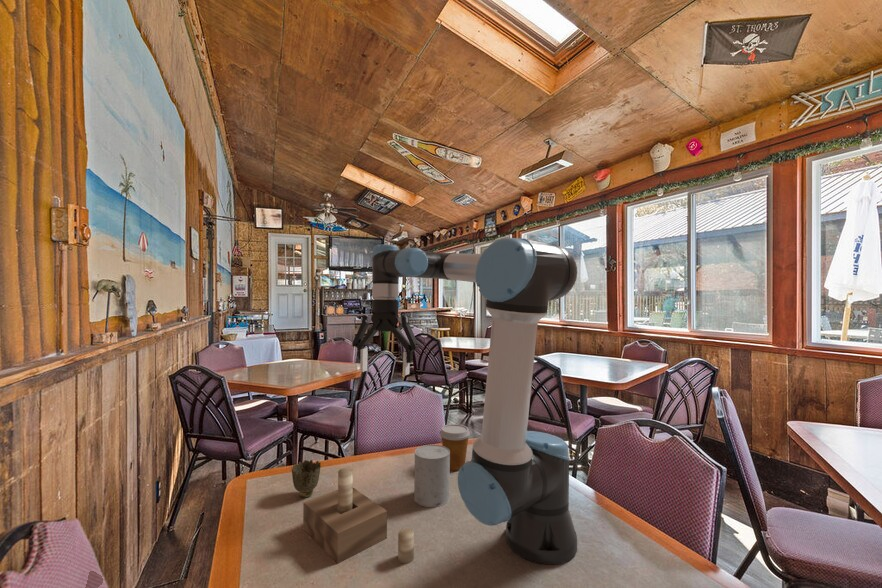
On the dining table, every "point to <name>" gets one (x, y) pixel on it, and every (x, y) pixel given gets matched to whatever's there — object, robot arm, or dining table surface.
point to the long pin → (345, 490)
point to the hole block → (344, 524)
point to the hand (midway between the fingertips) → (384, 372)
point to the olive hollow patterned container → (306, 477)
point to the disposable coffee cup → (455, 444)
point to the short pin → (405, 546)
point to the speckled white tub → (432, 475)
